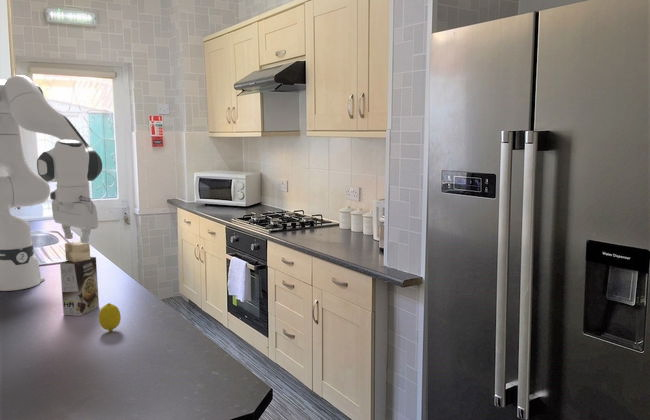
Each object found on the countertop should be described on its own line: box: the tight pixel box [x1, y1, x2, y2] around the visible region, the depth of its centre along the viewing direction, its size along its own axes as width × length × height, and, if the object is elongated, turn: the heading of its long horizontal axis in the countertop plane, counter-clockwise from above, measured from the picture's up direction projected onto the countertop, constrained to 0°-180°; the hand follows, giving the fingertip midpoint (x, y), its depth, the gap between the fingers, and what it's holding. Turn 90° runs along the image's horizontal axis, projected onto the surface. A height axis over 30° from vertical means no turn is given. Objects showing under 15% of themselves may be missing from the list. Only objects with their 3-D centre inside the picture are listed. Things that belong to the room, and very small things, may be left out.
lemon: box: [98, 302, 122, 332], centre depth 150 cm, size 6×6×8 cm
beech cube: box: [64, 240, 91, 262], centre depth 165 cm, size 5×5×5 cm
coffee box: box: [59, 256, 100, 317], centre depth 167 cm, size 9×6×16 cm
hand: (76, 240), depth 165 cm, fingers open, 8 cm apart
